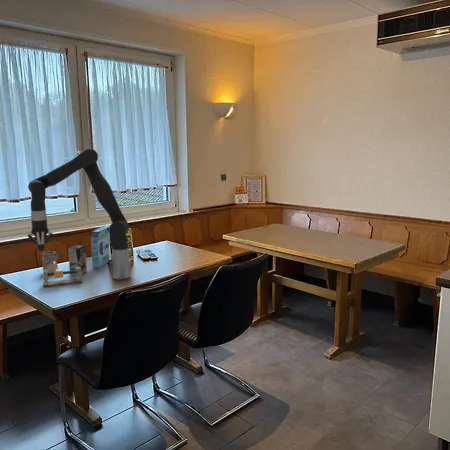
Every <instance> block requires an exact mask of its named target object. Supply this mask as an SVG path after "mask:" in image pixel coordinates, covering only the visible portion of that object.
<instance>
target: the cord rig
mask: <svg viewBox="0 0 450 450" xmlns="http://www.w3.org/2000/svg"><path fill="white" fill-rule="evenodd" d="M42 272H43V273H42V274H43V282H42V286H43V288H52V287H59V286H68V285H75V284H83V278H82V274H81V268H80V267H76V270H75V269H74V270H73V271H70V270H67V271H66V270H65V271H64V270H63V275H70V274H72V273H74V274H75V273H76V275H75V278H68V279H67V278H66V279H61V280H60V279H59V280H51V281H49V277H52V276H53V277H54V273H47V269H46V270H43V269H42Z"/></svg>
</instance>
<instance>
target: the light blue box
mask: <svg viewBox="0 0 450 450" xmlns="http://www.w3.org/2000/svg"><path fill="white" fill-rule="evenodd" d="M109 229H110V225H102V226H101V227H98V228H96V229H94V230H92V231H90V245H91V262H92V263H91V264H92V265H91V266H92V268H93V269H95V268H96V269H97V268H98V269H101V267H103V266H105V265H106V264H107V263H109V262H110V261H109V253H108V251H109V239H110V233H109ZM108 261H109V262H108Z"/></svg>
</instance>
